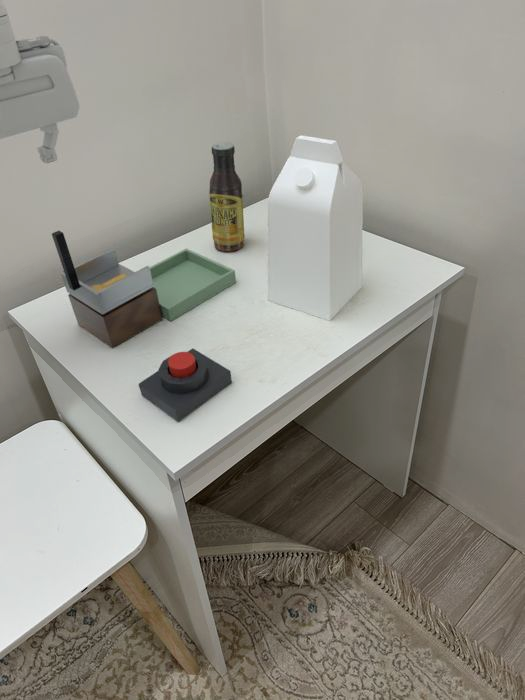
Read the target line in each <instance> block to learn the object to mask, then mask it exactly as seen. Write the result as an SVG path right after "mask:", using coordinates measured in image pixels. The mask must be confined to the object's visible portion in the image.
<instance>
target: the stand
mask: <svg viewBox="0 0 525 700" xmlns="http://www.w3.org/2000/svg"><path fill="white" fill-rule="evenodd" d="M67 296H68V298H69V302H70V305H71V307H72V311H73V313H74V316H75V319H76V322H77V325H78V326H79V327H81V328H82V329H83V330H85V331H87V332H88V333H90V334H91V335H93V336H94V337H95V338H97V339H98V340H100V341H101V342H103V343H104V344H105V345H107V346H108V347H110V348H111V349H115V348H116V347H118V346H120V345H121V344H123V343H125V342H126V341H129V340H130V339H132V338H133V337H135V336H136V335H138V334H140V333H142V332H143V331H145V330H147V329H148V328H150V327H152V326H154V325H155V324H157V323H158V322H160V321H162V320H163V317H162V314H161V309H160V305H159V300H158V295H157V291H156V289H155V288H154V287H152V288H150V289H149V290H147V291H145V292H143V293H141V294H139V295H138V296H136V297H134V298H132V299H130V300H128V301H127V302H125V303H123V304H121V305H119V306H117V307H116V308H114V309H112V310H110V311H108V312H106V313H105V314H103V315H102V314H101V313H99V312H98V311H96V310H94V309H93V308H91V307H90V306H88V305H87V304H85V303H83V302H82V301H80V300H79V299H77V298H76V297H74V296H73V295H71V294H69V293H68V294H67Z"/></svg>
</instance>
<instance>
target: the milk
mask: <svg viewBox="0 0 525 700" xmlns="http://www.w3.org/2000/svg"><path fill="white" fill-rule="evenodd" d="M337 141H338V140H333V139H326V138H320V137H314V136H307V135H299V136H296V138H295V140H294V143H293V145H292V148H291V151H290V154H289V157H288V158H287V160H286V162H284V163H285V164H284V165H283V167H282V168H281V171H280V172H279V174H278V176H277V178H276V180H275V182H274V183H273V186H271V187H272V188H271V190H270V192H269V194H268V199H267V301H269V302H271V303H275V304H278V305H280V306H281V305H282V306H284V307H286V308H290V309H291V310H296V311H297V312H301V313H305V314H308V315H311V316H314V317H317V318H320V319H323V320H325V321H328V322H331V321H332V320H333V318H334V317H335V316H336V315H337V314H338V313H339V312H340V311H341V310H342V309H343V308H344V307H345V306H346V305H347V303H349V301H350V300H351V299H352V298H353V297H354V296H355V295H356V294H357V293H358V292H359V291H360V290H361V289H362V287H363V224H364V223H363V221H364V220H363V217H364V216H363V215H364V214H363V213H364V209H363V208H364V207H363V206H364V202H363V201H364V190H363V189H364V188H363V184H362V181H361V179H360V178H359V177H358V176H357V174H356V173H355V172H354V171H352V169H351V168H349V166H348V165H347V163H345V162H344V158H343V156H342V153H341V150H340V146H339V144H338V142H337Z"/></svg>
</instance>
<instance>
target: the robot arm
mask: <svg viewBox="0 0 525 700" xmlns="http://www.w3.org/2000/svg"><path fill="white" fill-rule="evenodd" d="M67 65H68V64H67V60H66V55H65V52H64V49H63V47H62V46H61V45H60V43H58V42H57V41H56V40H54V39H51V38H49V37H48V36H47V35H45V36H44V35H41V36H37V37H36V38H28V39H20V40H16V38H15V34H14V31H13V26H12V23H11V20H10V17H9V14H8V10H7V8H6V5H5V4H4V1H2V0H0V140H2V139H5V138H9V137H13V136H16V135H20V134H24V133H27V132H30V131H33V130H36V129H39V130H40V132H42V133H43V140H42V146H39V147H37V152H38V154H39V158H40V160H41V162H42V163H45V164H51V163H53V162H57V161H58V156H57V152H56V149H55V148H56V145H57V141H58V136H59V128H58V124H57V123H61V122H64V121H68V120H71V119H74V118H77V117H78V114H79V111H80V103H79V100H78V95H77V93H76V89H75V86H74V84H73V81H72V79H71V77H70V74H69V72H68V69H67V67H68V66H67Z"/></svg>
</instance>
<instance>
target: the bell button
mask: <svg viewBox="0 0 525 700" xmlns="http://www.w3.org/2000/svg"><path fill="white" fill-rule="evenodd" d="M170 356H171V357H170ZM170 356H169V357H170V358H169V360H168V365H169V369H170V373H171V375H172V376H173V377H175V378H184V377H188V376H191V375H192V374H194V373H195V371H196V363H195V358H194V356H193V354H191V353H189V352H188V351H178V352H175V353H173V354H171V355H170Z"/></svg>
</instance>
